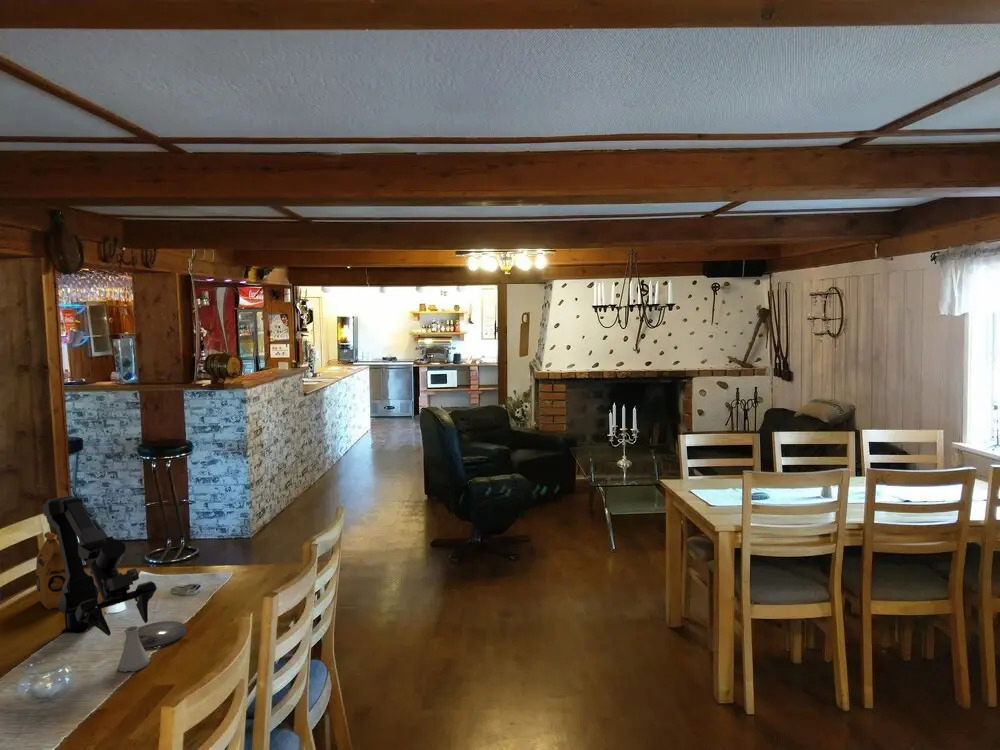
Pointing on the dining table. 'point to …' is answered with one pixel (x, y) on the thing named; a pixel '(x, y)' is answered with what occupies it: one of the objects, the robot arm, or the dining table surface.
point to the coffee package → (50, 572)
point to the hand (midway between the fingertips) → (128, 628)
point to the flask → (133, 652)
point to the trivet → (161, 633)
